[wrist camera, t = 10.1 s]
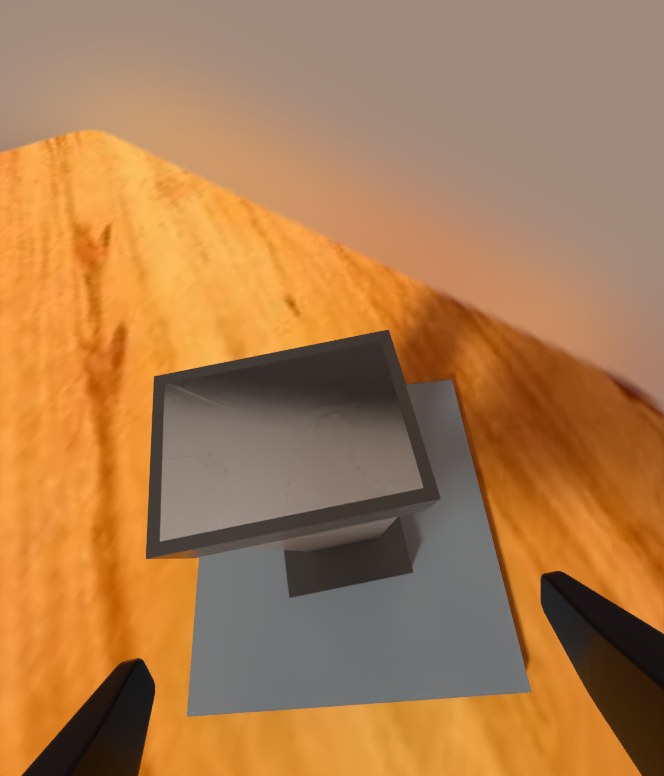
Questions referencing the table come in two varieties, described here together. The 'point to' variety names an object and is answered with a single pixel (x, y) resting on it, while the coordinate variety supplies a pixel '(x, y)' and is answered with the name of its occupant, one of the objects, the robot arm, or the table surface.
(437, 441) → the plate
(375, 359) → the tray topped pillar
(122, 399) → the table surface
